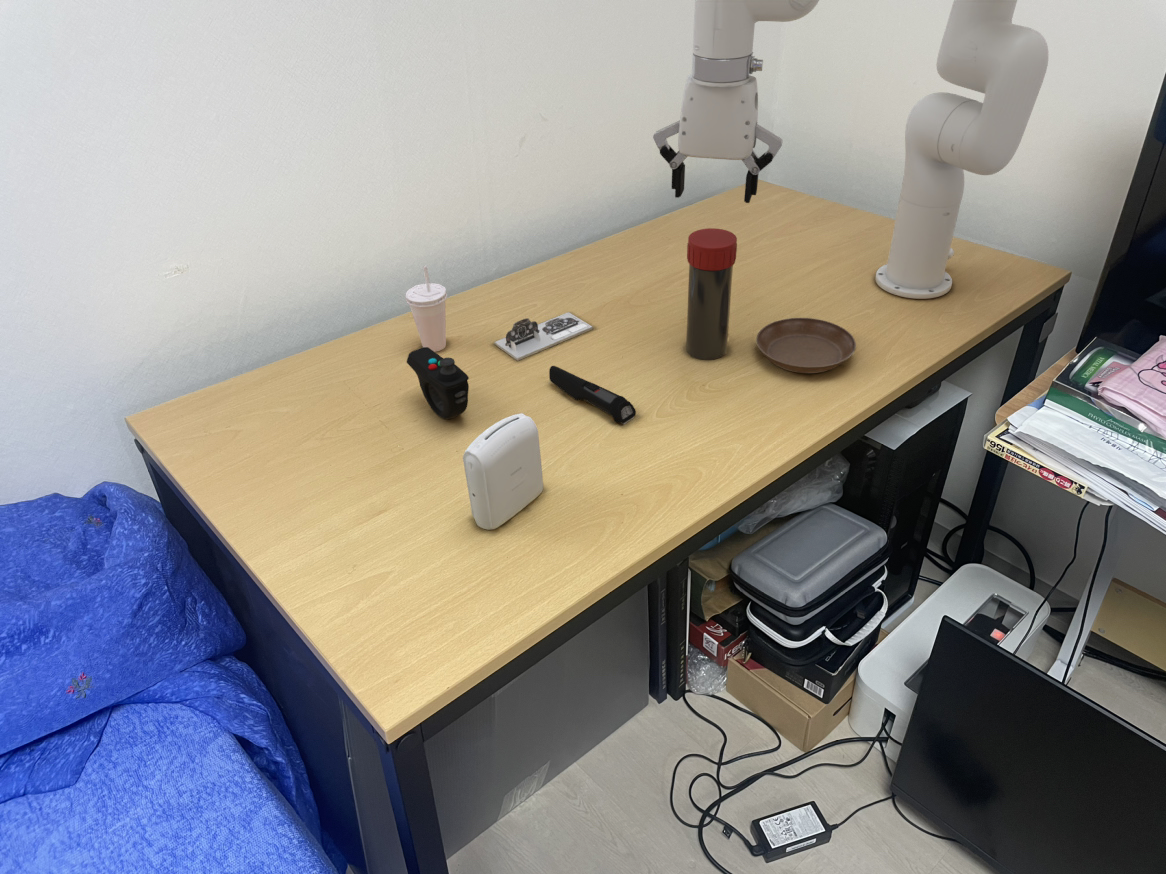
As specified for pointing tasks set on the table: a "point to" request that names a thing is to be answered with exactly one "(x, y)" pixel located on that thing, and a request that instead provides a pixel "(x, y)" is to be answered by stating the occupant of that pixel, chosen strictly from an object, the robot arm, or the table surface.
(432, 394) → the controller
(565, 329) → the car cutout
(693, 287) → the thermos
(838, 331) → the saucer
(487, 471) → the photo printer
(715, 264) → the lid
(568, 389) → the electric trimmer
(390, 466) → the table surface
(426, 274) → the smoothie
